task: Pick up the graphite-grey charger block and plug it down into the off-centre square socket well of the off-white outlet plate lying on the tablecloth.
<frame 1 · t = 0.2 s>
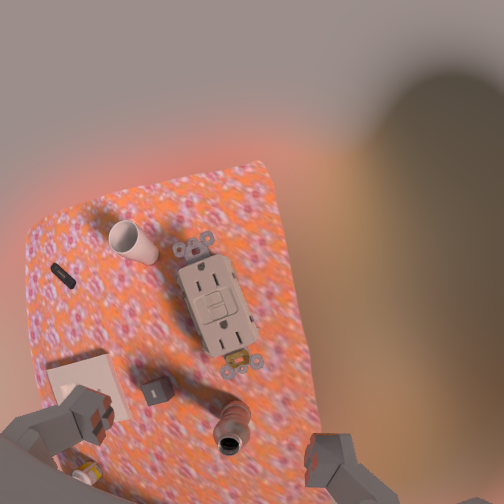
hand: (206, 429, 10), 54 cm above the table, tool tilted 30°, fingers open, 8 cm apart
electrical outlet: (221, 307, 64), on the table
charger: (162, 388, 60), on the table
plastic bottle: (236, 411, 59), on the table
outlet plate: (88, 392, 59), on the table
usb stick: (65, 276, 67), on the table
supplement bottle: (95, 468, 54), on the table
drinking glass: (149, 254, 67), on the table
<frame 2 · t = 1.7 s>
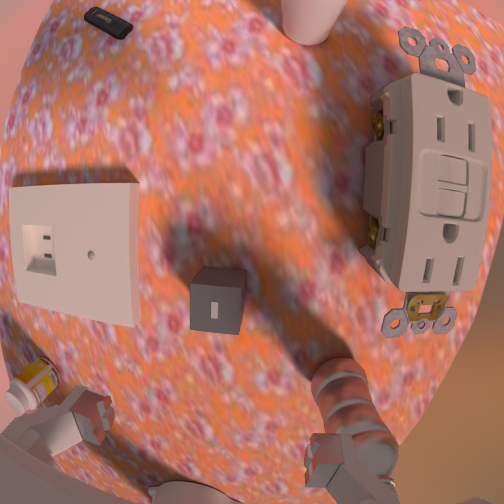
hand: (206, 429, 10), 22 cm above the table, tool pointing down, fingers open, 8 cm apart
electrical outlet: (406, 185, 29), on the table
charger: (224, 288, 33), on the table
plastic bottle: (335, 371, 34), on the table
outlet plate: (70, 248, 33), on the table
usb stick: (109, 24, 27), on the table
supplement bottle: (49, 370, 38), on the table
drinking glass: (305, 29, 26), on the table
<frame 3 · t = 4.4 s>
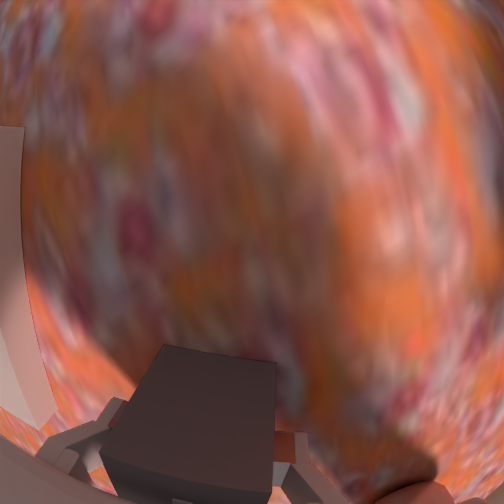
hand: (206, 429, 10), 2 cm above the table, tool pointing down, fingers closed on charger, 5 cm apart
charger: (215, 395, 12), on the table, touching gripper
plastic bottle: (402, 492, 14), on the table
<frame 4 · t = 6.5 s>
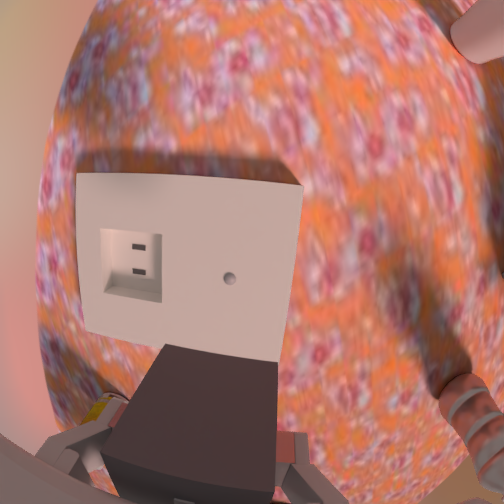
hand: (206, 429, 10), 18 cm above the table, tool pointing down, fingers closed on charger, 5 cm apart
charger: (216, 394, 12), point 15 cm above the table, touching gripper
plastic bottle: (454, 386, 29), on the table
outlet plate: (180, 263, 27), on the table
supplement bottle: (119, 405, 33), on the table
drinking glass: (466, 44, 19), on the table
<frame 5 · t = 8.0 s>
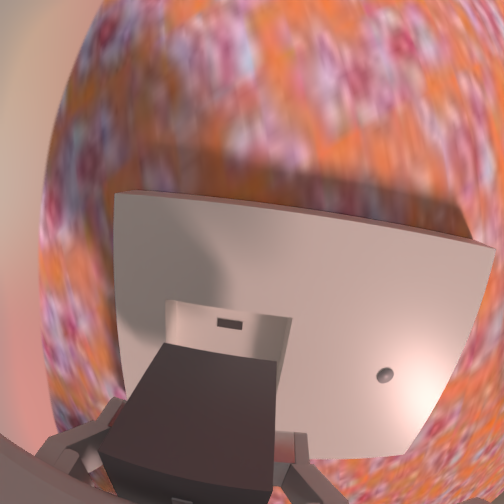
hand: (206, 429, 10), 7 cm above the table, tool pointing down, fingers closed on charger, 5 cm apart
charger: (215, 394, 12), point 5 cm above the table, touching gripper
outlet plate: (296, 347, 17), on the table
when the fingers open (4 cm above the table, at t = 9.0 s): charger drops 1 cm, resting on outlet plate.
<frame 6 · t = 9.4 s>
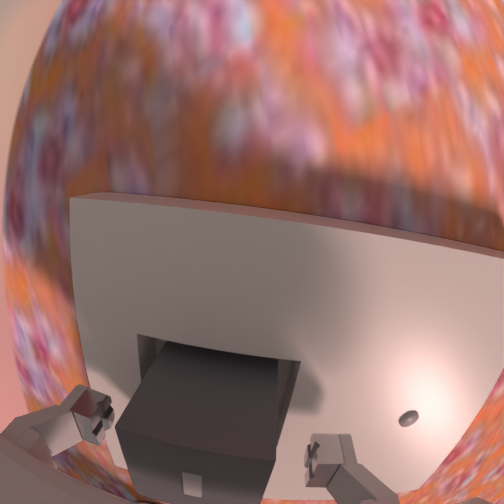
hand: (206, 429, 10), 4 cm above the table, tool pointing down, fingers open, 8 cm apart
charger: (220, 379, 13), resting on outlet plate
outlet plate: (303, 385, 13), on the table
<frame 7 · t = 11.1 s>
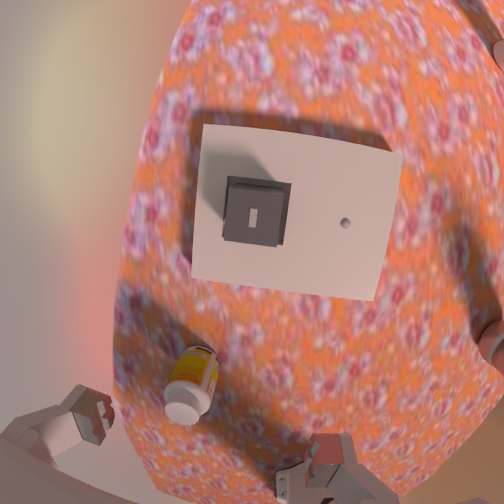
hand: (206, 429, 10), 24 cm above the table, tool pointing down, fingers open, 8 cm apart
charger: (257, 207, 31), resting on outlet plate
plastic bottle: (489, 333, 34), on the table
outlet plate: (295, 212, 31), on the table
supplement bottle: (201, 359, 38), on the table
drinking glass: (503, 60, 22), on the table
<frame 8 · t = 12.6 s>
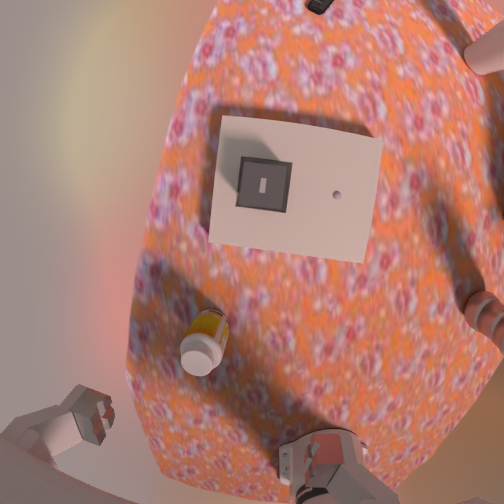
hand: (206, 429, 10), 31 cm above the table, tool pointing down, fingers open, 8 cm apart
charger: (264, 183, 37), resting on outlet plate
plastic bottle: (474, 304, 40), on the table
outlet plate: (295, 188, 38), on the table
supplement bottle: (212, 324, 44), on the table
drinking glass: (473, 61, 30), on the table
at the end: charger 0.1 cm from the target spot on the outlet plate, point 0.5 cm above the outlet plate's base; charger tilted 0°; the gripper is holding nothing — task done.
